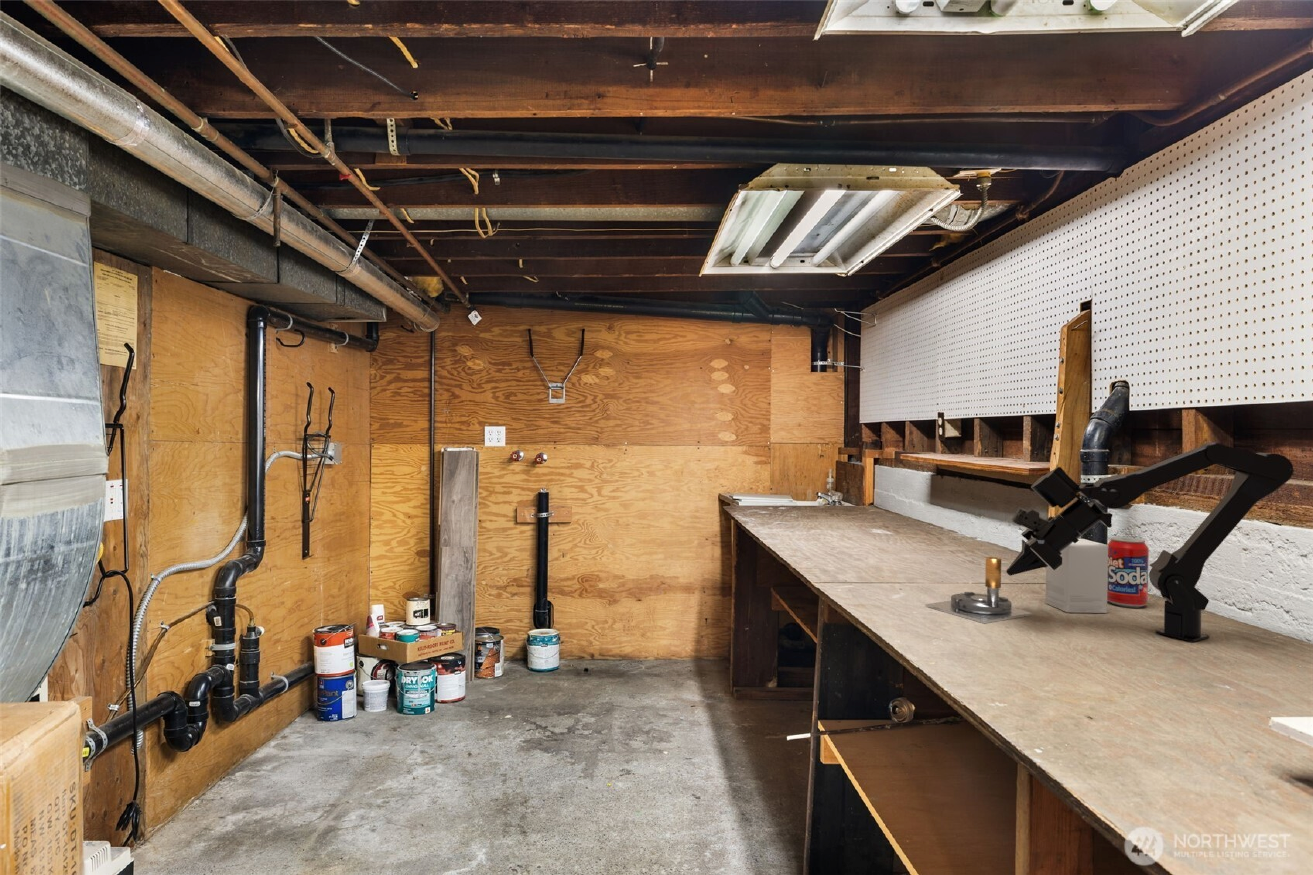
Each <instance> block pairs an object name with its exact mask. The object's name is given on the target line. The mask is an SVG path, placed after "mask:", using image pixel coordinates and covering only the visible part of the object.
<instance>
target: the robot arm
mask: <svg viewBox="0 0 1313 875" xmlns="http://www.w3.org/2000/svg"><path fill="white" fill-rule="evenodd" d="M1214 465H1216V466H1219V467H1222V468H1226V469H1229V470H1232V471H1235V473H1234V477H1233V480H1232V483H1231V486H1230V489H1229V490H1228V492H1227V493H1226V494H1224V496H1223V498H1222V499H1221V500H1220V501H1219V502H1218V503H1217V504H1216V505H1215V507H1214V508H1213V509H1212V510H1211V511H1210V513H1209V514H1208V515H1207V517H1205V519H1204V520H1203V521H1202V522H1201V523H1200V525H1198V527H1197V528H1196V529H1195V531H1194V532H1192V534H1191V535H1190V537H1189V538H1188V539H1187V540H1186V541H1184V543H1183V545H1182V546H1181V547H1180V548H1178V549H1176V550H1174V552H1172V553H1171V552H1169V551H1168V550H1165V549H1163V550H1162V551H1161V552H1160V554H1159V555H1158V557H1157V559H1156V560H1155V561H1154V562H1152V563H1150V564H1149V567H1151V569H1150V571H1148V579H1149V581H1150V583H1151V585H1152V586H1153V587H1154V588H1155V589H1157V591H1158V592H1160V595H1161V597H1162V598H1163V599H1165V600H1164V607H1163V608H1164V612H1163V613H1164V614H1163V615H1164V618H1163V619H1164V620H1163V628H1160V629H1156V630H1155V632H1154V633H1155V634H1158V635H1163V636H1167V637H1170V638H1176V639H1179V640H1183V641H1187V642H1191V643H1192V642H1197V641H1201V640H1206V639H1209V638H1210V634H1208V633H1207V634H1206V633H1204V632H1203V633H1202V611H1204V610H1206V608H1207V606H1208V604H1209V602H1210V601H1209V598H1207V597H1206V596H1205V594H1203V593H1202V592H1201V591H1199V590H1198V589H1197V588H1196V586H1197V584H1198V582H1199V580H1200V579H1201V576H1202V573H1203V569H1204V566H1205V563H1206V562H1207V560H1208V559H1210V557H1211V556H1212V555H1213V553H1214V552H1215V551H1217V549H1218V548H1219V547H1220V546H1221V545H1222V543H1223V542H1224V541H1225V540H1226V539H1227V537H1228V536H1229V535H1230V534H1231V533H1232V531H1233V530H1234V529H1235V528H1236V527H1237V526H1238V524H1239V523H1240V522H1241V521H1242V520H1243V519H1244V518H1245V516H1246V515H1247V514H1248V513H1249V512H1250V511H1251V509H1252V508H1253V507H1254V506H1255V505H1256V504H1257V503H1258V502H1260V501H1261V500H1262V499H1264V498H1266V497H1269V496H1270V495H1271V494H1272V493H1274V492H1276V491H1277V490H1279V489H1280V488H1281V487H1282V486H1284V485H1285V484H1286V483H1287V482H1289V480H1290V479H1291V478H1292V477H1293V475H1294V473H1295V470H1294V467H1293V463H1292V462H1291V460H1290V459H1289V458H1287V456H1284V455H1282V454H1279V453H1271V452H1270V453H1269V452H1251V451H1247V450H1244V449H1240V448H1235V447H1232V446H1228V445H1225V444H1224V443H1221V442H1204V443H1202V444H1201V445H1200V446H1198V447H1195V448H1193V449H1191V450H1188V451H1185V452H1183V453H1180V454H1179V455H1175V456H1171V457H1170V458H1168V459H1165V460H1163V461H1160V462H1157V463H1155V464H1152V465H1149V466H1147V467H1144V468H1143V469H1139V470H1137V471H1132V472H1126V473H1120V474H1115V475H1111V476H1106V477H1102V478H1099V479H1098V480H1095V482H1094V483H1087V484H1086V483H1085V484H1084V483H1081V484H1078V483H1076V482H1075V481H1074V480H1073V479H1072V478H1071V477H1070V476H1069V475H1068V474H1067V473H1066V471H1065V470H1064V469H1063V468H1062V467H1060V466H1056V467H1055V468H1054V469H1052V470H1050V471H1049V472H1048V473H1046V474H1045V475H1041V477H1039V478H1038V479H1037V480H1036V481H1035V482H1033V483H1032V485H1030V488H1031V489H1032V490H1033V491H1034V492H1035V493H1036V494H1037V495H1038V496H1040V498H1041V499H1042V500H1044V502H1046V503H1047V504H1048V506H1050V507H1051V508H1055V507H1057V506H1058V508H1060V509H1062V508H1064V507H1066V506H1067V505H1068V506H1067V507H1066V508H1064V509H1063V510H1062V511H1061V512H1059V513H1058V514H1056V516H1048V518H1047V519H1045V518H1043V517H1042V516H1040V512H1039V511H1036V510H1034V509H1032V508H1030V509H1029V510H1026V509H1025V508H1023V507H1020V506H1019V507H1018V508H1017V509H1016V512H1015V513H1014V515H1013V517H1012V518H1011V521H1012V523H1015V524H1016V525H1019V526H1023V527H1025V528H1026V529H1025V530H1024V531H1023V532H1021V534H1020V535H1021V536H1022V537H1023V538H1024V539H1025V540H1026V541H1025V540H1024V539H1023V538H1022V539H1021V550H1020V552H1019V554H1018V555H1017V556H1016V557H1015V559H1014V560H1013V561H1012V562H1011V563H1010V565H1009V566H1008V568H1007V569H1006V570H1005V572H1006V573H1007V575H1009V576H1014V575H1018V574H1023V573H1025V572H1029V571H1033V570H1038V569H1042V568H1046V567H1048V565H1049V566H1050V567H1051V568H1052V569H1053V570H1055V569H1057V568H1058V567H1059V566H1060V565H1062V557H1061V556H1060V555H1061V554H1062V553H1061V551H1062V550H1063V549H1065V548H1066V547H1067V546H1069V545H1070V544H1071V543H1072V542H1074V543H1076V542H1078V541H1079V540H1078V539H1080V537H1081V536H1083V535H1085V533H1087V532H1088V531H1090V529H1092V528H1093V527H1095V525H1097V524H1098V523H1100V522H1101V523H1102V524H1103V525H1104V526H1105V527H1107V528H1112V526H1113V524H1112V518H1113V514H1112V513H1111V512H1105V511H1103V510H1102V509H1101V508H1100V507H1099V506H1098V505H1097V504H1099V505H1101V506H1103V507H1105V508H1108V509H1113V510H1114V509H1115V510H1117V509H1120V508H1123V507H1125V506H1126V505H1129V504H1130V503H1132V502H1133V501H1135V500H1137V499H1138V498H1140V497H1141V496H1142V495H1144V494H1145V493H1147V492H1148V491H1150V490H1152V489H1154V488H1157V487H1159V486H1161V485H1164V484H1167V483H1169V482H1172V481H1175V480H1178V479H1180V478H1183V477H1186V476H1188V475H1191V474H1194V473H1196V472H1198V471H1201V470H1203V469H1206V468H1208V467H1211V466H1214ZM1079 494H1080V495H1081V496H1083V497H1085V498H1087V499H1092V500H1094V501H1095V502H1096V503H1097V504H1096V503H1095V502H1090V503H1087V502H1085V500H1083V498H1081V497H1080V496H1079ZM1075 499H1076V500H1075ZM1072 501H1073V502H1072ZM1070 503H1071V504H1070ZM1046 563H1047V564H1048V565H1047V564H1046Z"/></svg>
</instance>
